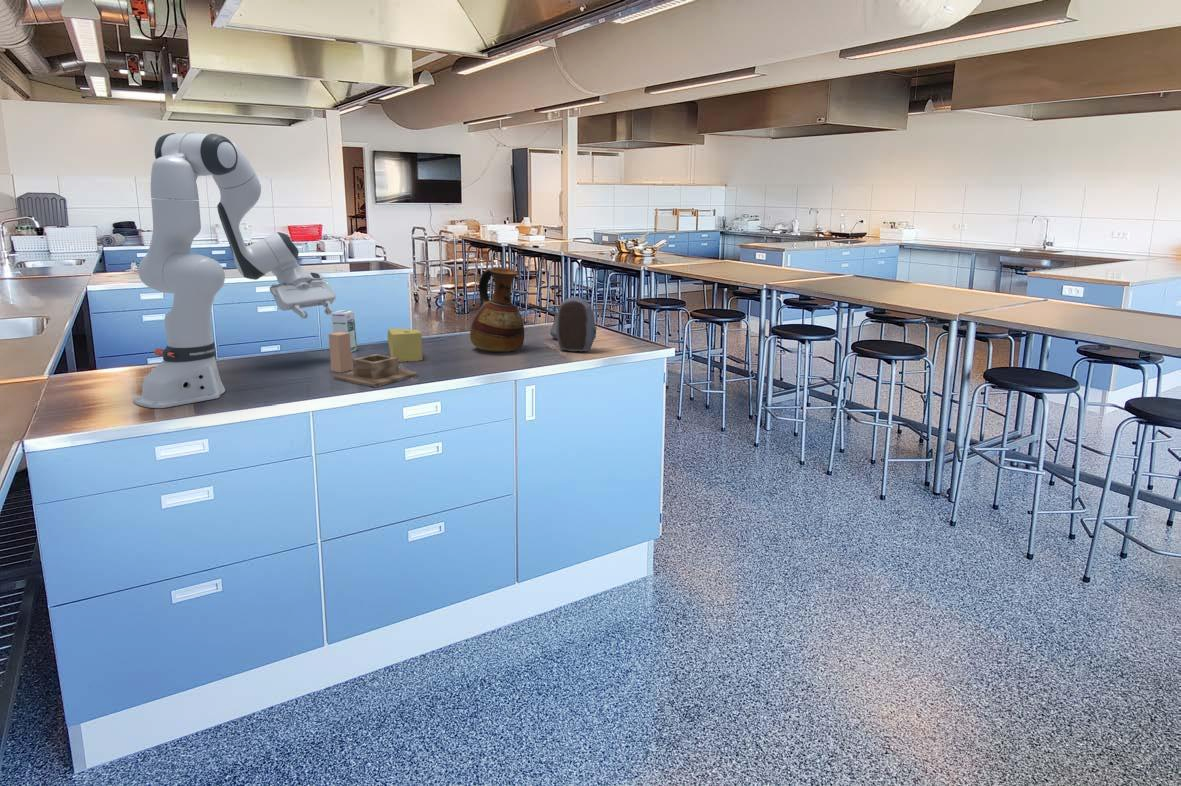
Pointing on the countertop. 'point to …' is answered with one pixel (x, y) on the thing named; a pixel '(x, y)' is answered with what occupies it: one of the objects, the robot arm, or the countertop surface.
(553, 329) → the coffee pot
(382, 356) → the socket stand
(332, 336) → the rust peg
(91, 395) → the countertop surface
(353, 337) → the syrup box
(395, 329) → the cheese
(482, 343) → the ceramic pitcher
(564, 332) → the small grey backpack
